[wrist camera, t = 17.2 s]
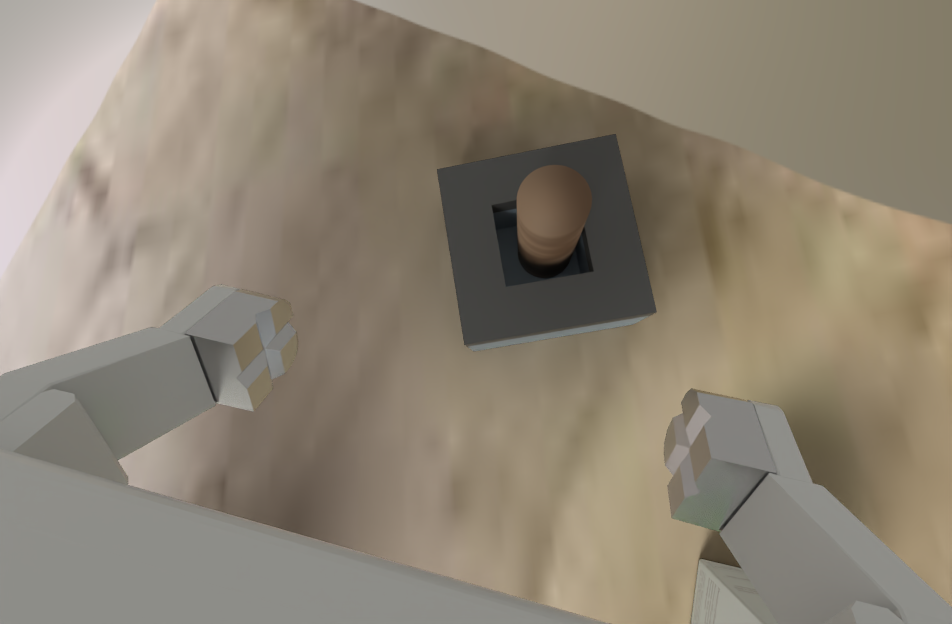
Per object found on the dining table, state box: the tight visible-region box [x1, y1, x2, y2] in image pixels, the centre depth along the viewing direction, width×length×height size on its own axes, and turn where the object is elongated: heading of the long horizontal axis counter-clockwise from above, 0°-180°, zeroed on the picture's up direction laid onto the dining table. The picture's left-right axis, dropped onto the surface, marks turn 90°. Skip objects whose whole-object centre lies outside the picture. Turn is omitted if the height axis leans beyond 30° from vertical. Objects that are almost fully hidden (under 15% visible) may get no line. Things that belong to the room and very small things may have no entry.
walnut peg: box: [517, 165, 592, 278], centre depth 30 cm, size 4×4×10 cm
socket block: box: [437, 134, 657, 351], centre depth 33 cm, size 12×12×6 cm
